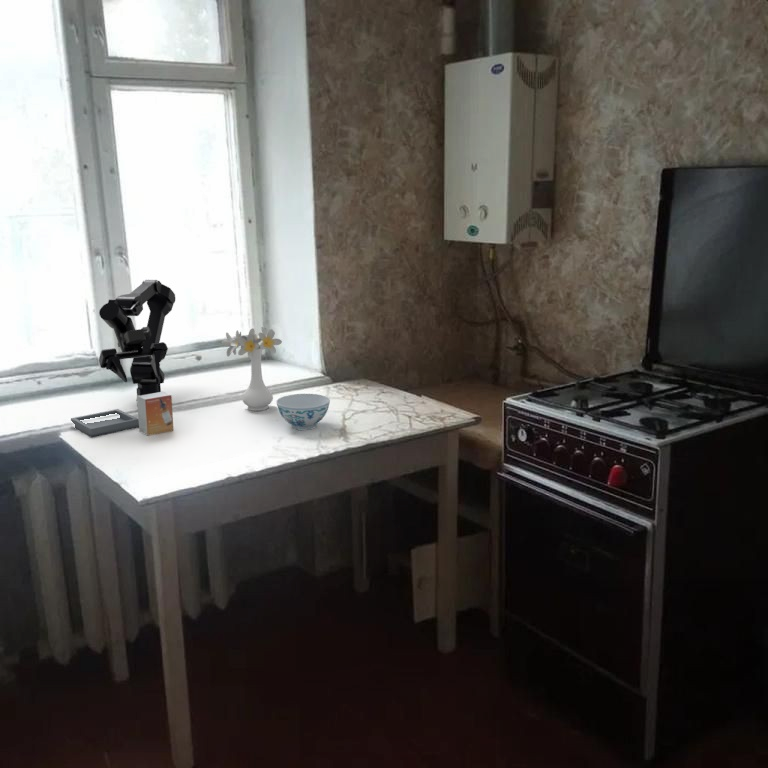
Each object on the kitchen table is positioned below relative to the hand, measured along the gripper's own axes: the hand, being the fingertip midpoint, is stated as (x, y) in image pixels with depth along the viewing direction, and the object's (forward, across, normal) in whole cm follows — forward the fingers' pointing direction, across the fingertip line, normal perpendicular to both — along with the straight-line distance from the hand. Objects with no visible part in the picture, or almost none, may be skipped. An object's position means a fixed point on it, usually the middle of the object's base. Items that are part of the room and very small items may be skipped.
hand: (142, 379), depth 229 cm
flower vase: (+13, +33, +7) cm, 36 cm away
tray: (+6, -10, +12) cm, 17 cm away
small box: (+15, 0, +4) cm, 16 cm away
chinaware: (+30, +36, -11) cm, 48 cm away
